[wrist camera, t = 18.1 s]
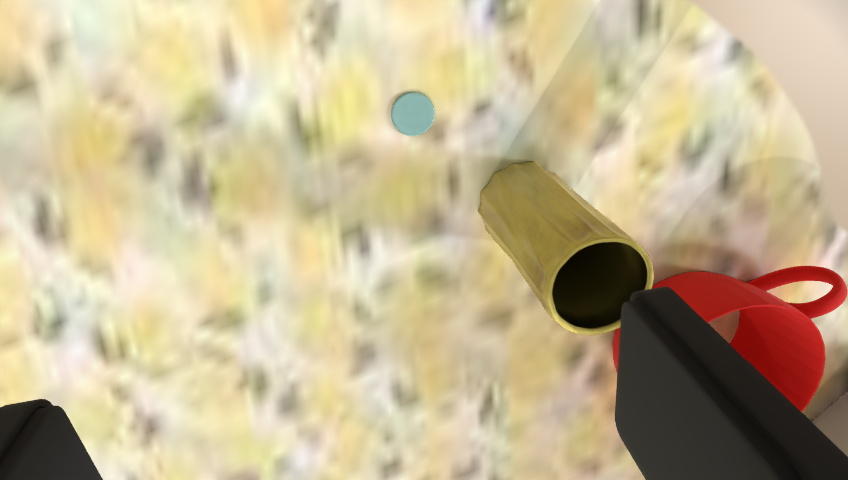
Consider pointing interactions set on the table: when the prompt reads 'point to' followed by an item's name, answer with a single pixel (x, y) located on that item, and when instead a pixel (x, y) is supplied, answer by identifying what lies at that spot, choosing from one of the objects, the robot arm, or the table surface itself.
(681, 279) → the ceramic cup
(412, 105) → the button
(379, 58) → the table surface
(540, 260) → the vase
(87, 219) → the table surface
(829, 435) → the alarm clock
